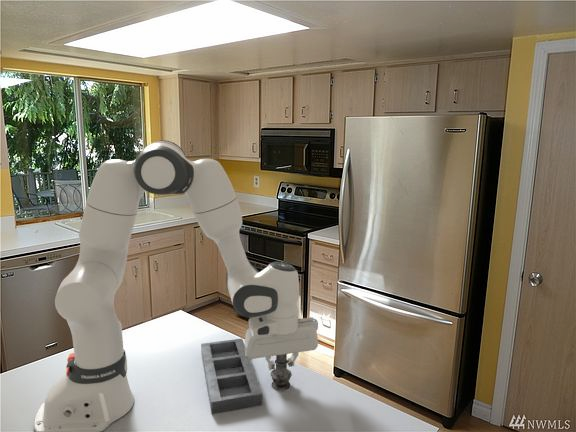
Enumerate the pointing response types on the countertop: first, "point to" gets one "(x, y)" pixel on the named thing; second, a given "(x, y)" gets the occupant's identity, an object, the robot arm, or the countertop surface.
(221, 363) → the grey rectangular frame piece
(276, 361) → the grey stone finial
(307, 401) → the countertop surface
